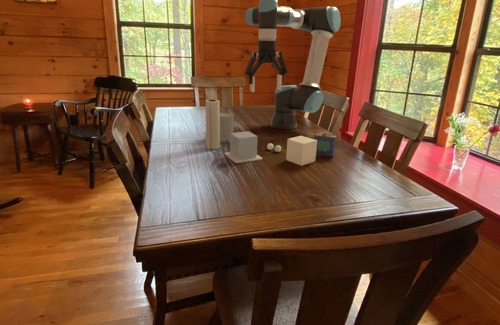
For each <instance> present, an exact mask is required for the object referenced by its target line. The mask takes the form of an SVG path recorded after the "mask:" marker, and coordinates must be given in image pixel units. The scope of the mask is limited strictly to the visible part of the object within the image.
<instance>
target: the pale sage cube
mask: <svg viewBox="0 0 500 325" xmlns="http://www.w3.org/2000/svg"><path fill="white" fill-rule="evenodd" d="M229 146H230V147H229V150H230V151H229V152H230V154H231V155H233V156H234V157H235V158H236V159H238V160H241V159H249V158H256V157H257V155H258V135H256V134H254V133H253V132H251V131H249V130H248V131H247V130H246V131H238V132H234V133H230V142H229Z"/></svg>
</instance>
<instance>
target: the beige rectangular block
mask: <svg viewBox="0 0 500 325" xmlns="http://www.w3.org/2000/svg"><path fill="white" fill-rule="evenodd" d="M316 149H317V140H314V138H311V137H308V136H303V135H298V136H295V137H290V138H287V142H286V156H285V158H286V159H285V161H288V162H290V163H293V164H295V165H298V166H301V167H302V166H304V165H307V164H312V163H314V162H316V157H317V156H316Z"/></svg>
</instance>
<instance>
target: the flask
mask: <svg viewBox="0 0 500 325" xmlns="http://www.w3.org/2000/svg"><path fill="white" fill-rule="evenodd" d="M313 139H314V140H317V149H316V157H325V158H334V157H335V152H336V142H337V136H336V135H328V131H324V132H323V133H315V134H314V137H313Z"/></svg>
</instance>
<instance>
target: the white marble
mask: <svg viewBox="0 0 500 325" xmlns="http://www.w3.org/2000/svg"><path fill="white" fill-rule="evenodd" d="M266 148H267V149H268V150H269V151H272V150H273V149H275V146H274V143H271V142H270V143H267V146H266Z"/></svg>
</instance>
